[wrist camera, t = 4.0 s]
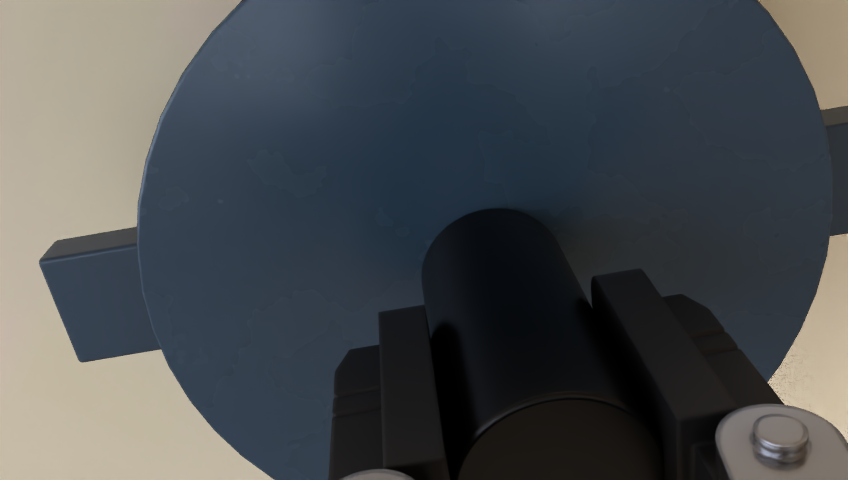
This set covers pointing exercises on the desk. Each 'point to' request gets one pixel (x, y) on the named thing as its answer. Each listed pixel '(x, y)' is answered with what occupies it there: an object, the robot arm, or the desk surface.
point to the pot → (121, 286)
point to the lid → (475, 212)
